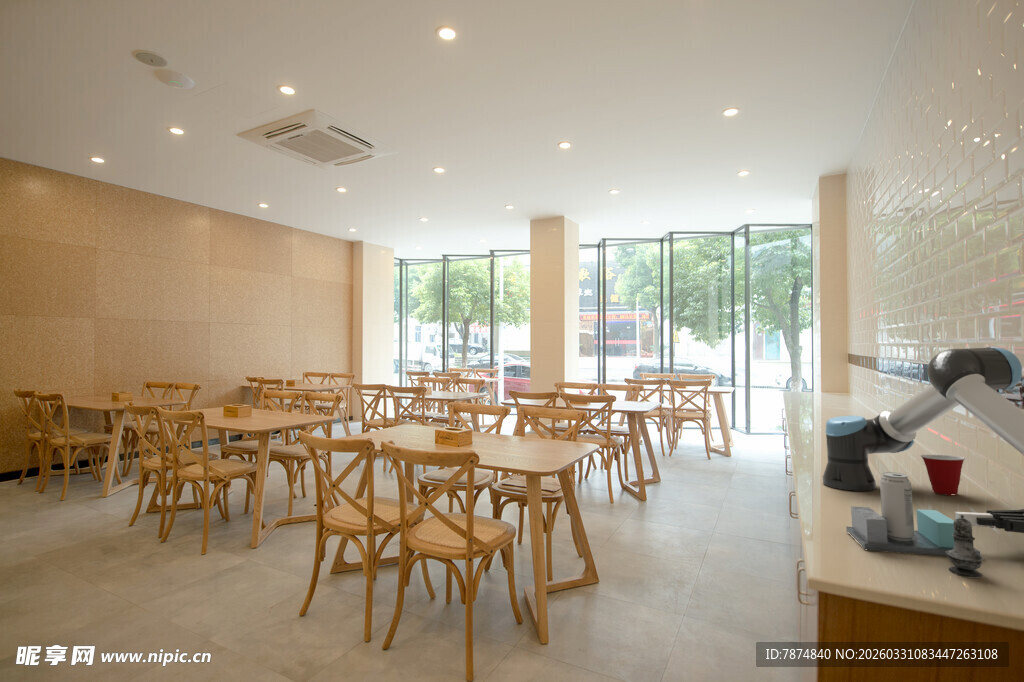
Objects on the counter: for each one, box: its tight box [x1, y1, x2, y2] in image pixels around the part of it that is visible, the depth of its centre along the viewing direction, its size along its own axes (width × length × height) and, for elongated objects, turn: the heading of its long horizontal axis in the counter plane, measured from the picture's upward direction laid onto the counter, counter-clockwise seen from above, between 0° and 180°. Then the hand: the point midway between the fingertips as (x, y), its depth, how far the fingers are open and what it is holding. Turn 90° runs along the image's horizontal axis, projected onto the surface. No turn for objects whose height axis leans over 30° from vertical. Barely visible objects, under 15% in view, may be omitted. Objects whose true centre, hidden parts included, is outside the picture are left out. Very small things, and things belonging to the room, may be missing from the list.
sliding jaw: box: [916, 508, 955, 548], centre depth 117 cm, size 10×4×6 cm, turn 163°
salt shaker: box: [946, 514, 985, 579], centre depth 103 cm, size 6×6×12 cm
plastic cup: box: [920, 454, 966, 496], centre depth 159 cm, size 11×11×12 cm
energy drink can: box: [879, 471, 915, 541], centre depth 119 cm, size 6×6×15 cm
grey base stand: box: [845, 505, 981, 557], centre depth 119 cm, size 12×22×7 cm, turn 73°
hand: (957, 518), depth 116 cm, fingers closed
